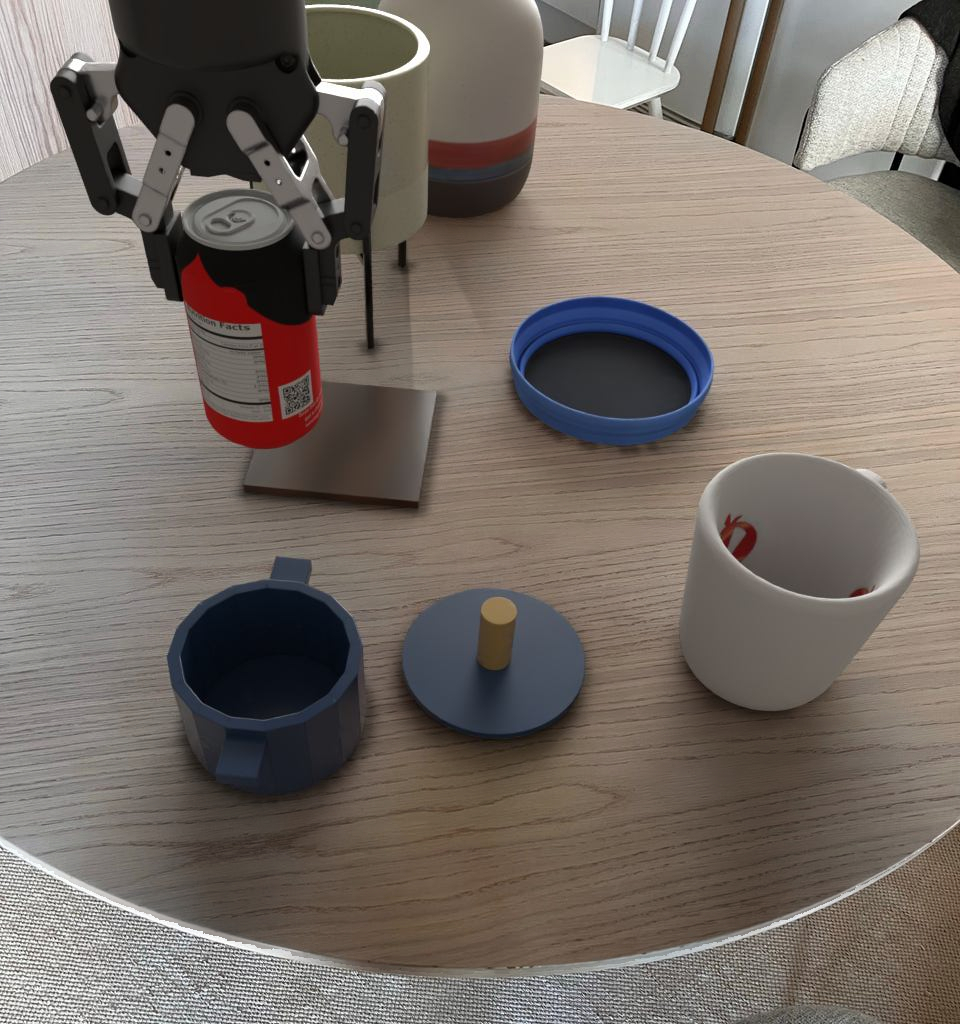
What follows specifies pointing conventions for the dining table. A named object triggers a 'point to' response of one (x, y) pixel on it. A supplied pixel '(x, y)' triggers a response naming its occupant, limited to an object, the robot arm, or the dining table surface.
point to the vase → (478, 99)
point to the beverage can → (250, 318)
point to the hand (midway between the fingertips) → (249, 298)
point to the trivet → (354, 449)
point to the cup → (790, 576)
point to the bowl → (610, 369)
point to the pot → (270, 682)
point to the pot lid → (493, 663)
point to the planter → (404, 168)
